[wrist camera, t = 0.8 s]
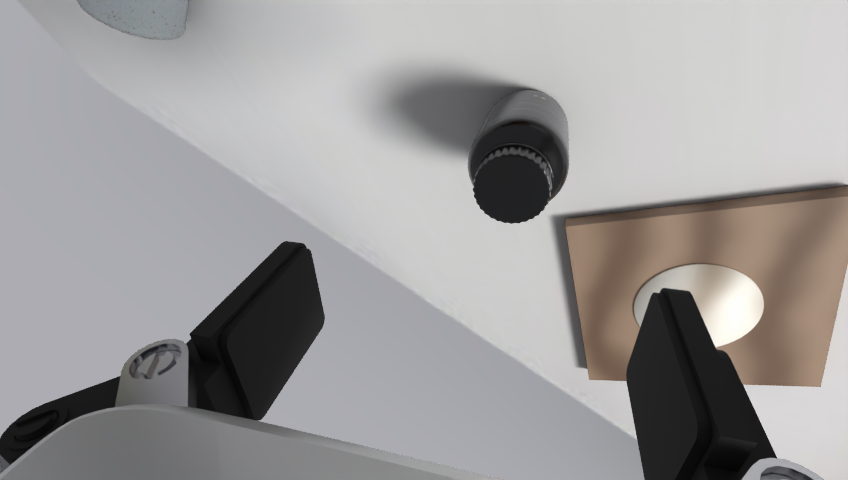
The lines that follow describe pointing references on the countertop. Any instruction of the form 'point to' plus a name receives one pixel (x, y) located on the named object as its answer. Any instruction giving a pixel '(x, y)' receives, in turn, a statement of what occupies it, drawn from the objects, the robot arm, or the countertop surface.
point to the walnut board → (718, 279)
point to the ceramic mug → (141, 16)
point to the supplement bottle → (520, 156)
